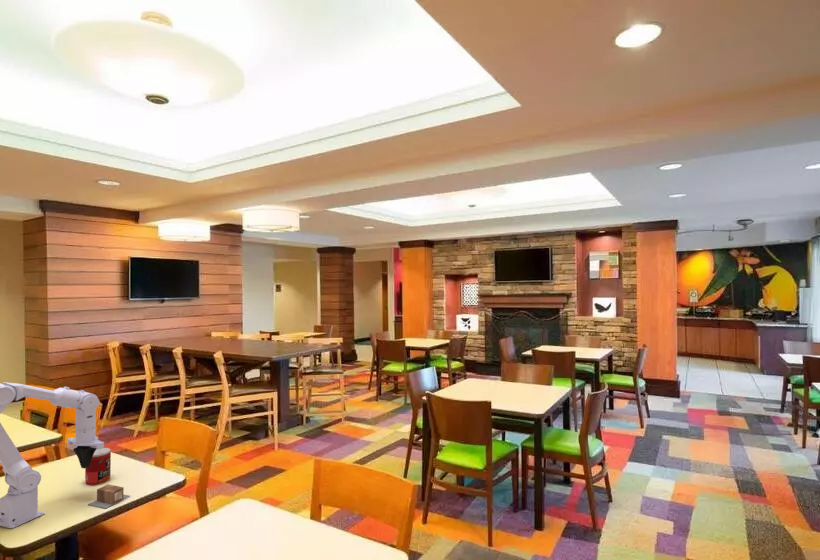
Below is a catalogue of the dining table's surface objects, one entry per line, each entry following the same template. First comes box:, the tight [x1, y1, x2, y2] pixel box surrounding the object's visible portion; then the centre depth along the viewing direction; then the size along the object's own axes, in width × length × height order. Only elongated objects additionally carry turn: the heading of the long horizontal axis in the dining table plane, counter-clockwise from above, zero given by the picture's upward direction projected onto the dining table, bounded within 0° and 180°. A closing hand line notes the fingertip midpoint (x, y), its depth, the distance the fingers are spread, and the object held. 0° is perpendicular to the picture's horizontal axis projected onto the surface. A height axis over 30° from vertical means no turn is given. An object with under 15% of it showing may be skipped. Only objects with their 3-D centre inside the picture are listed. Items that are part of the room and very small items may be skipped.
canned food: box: [84, 447, 112, 486], centre depth 170 cm, size 8×8×11 cm
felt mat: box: [87, 493, 130, 510], centre depth 155 cm, size 9×8×1 cm
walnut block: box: [96, 484, 125, 506], centre depth 155 cm, size 4×4×7 cm
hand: (85, 467), depth 159 cm, fingers closed
